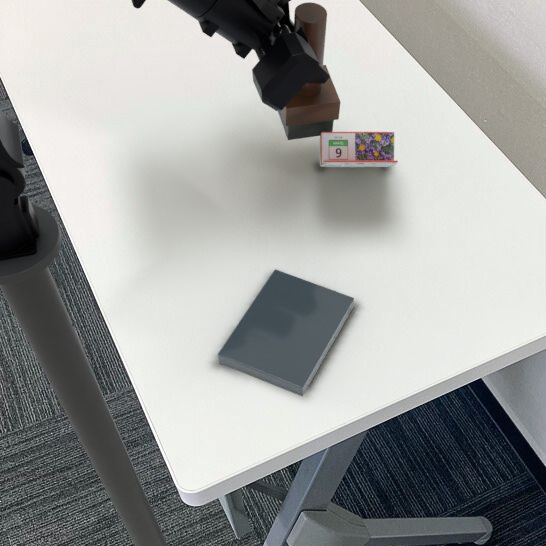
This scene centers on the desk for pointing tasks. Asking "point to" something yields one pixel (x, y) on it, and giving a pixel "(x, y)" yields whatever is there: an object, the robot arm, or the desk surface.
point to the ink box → (356, 149)
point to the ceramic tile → (287, 332)
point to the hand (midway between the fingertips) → (322, 69)
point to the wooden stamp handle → (311, 97)
